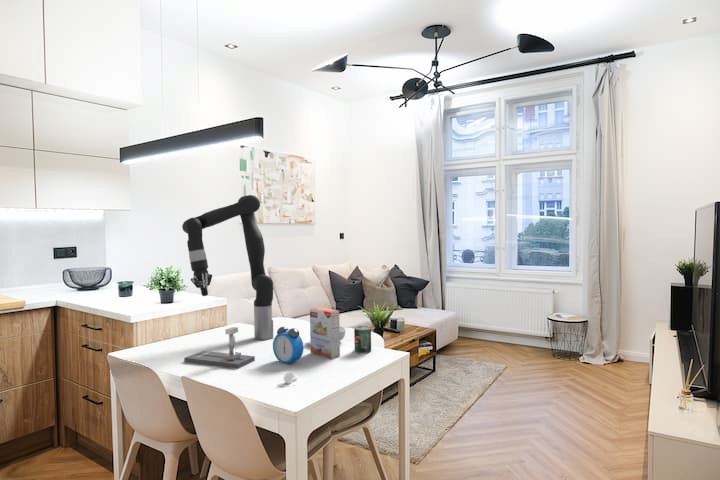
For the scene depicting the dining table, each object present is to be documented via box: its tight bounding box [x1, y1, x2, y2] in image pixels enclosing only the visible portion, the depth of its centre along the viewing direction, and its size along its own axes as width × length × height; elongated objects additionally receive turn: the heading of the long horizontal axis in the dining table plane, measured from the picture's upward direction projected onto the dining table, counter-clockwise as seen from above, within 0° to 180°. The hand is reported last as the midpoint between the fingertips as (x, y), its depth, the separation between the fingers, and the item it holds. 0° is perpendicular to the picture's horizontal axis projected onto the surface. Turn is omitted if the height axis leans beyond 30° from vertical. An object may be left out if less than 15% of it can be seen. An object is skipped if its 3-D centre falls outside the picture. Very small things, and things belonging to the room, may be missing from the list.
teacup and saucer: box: [277, 371, 300, 388], centre depth 171 cm, size 9×8×4 cm
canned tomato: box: [353, 325, 372, 354], centre depth 213 cm, size 8×8×11 cm
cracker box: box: [309, 306, 341, 359], centre depth 207 cm, size 14×6×21 cm, turn 47°
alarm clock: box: [272, 326, 304, 365], centre depth 197 cm, size 13×6×15 cm, turn 54°
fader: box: [223, 326, 242, 360], centre depth 196 cm, size 5×6×13 cm
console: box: [183, 350, 256, 370], centre depth 199 cm, size 28×12×2 cm, turn 68°
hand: (205, 295), depth 217 cm, fingers closed
